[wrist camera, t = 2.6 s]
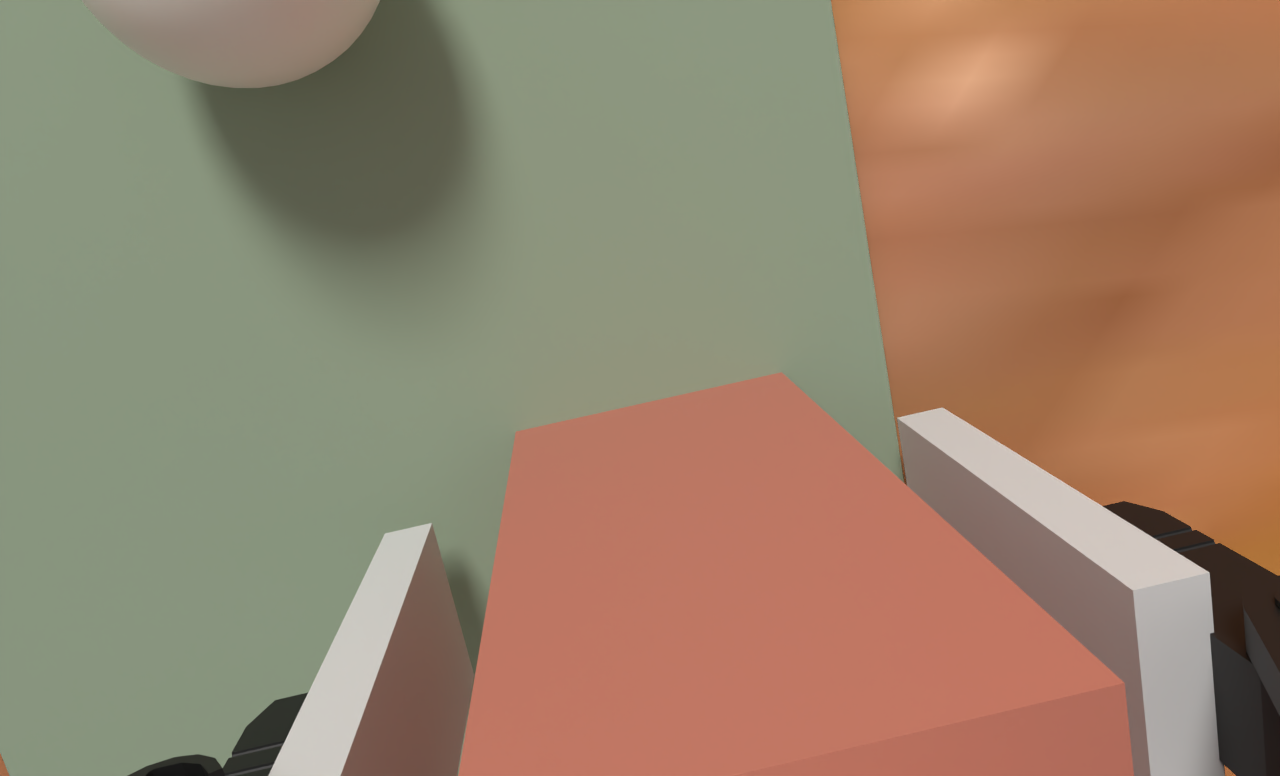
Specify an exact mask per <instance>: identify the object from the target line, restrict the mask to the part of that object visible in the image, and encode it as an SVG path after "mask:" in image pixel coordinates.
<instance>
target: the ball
mask: <svg viewBox="0 0 1280 776" xmlns="http://www.w3.org/2000/svg"><path fill="white" fill-rule="evenodd" d="M82 2H83V3H84V4H85V6H86V7H87V8H88V9H89V10H90V11H91V13H92V14H93V15H94V16H95V17H96V18H97V19H98V20H99V22H100V23H101V24H102V25H104V26H105V27H106V28H107V29H108V30H109V31H110V32H111V33H112V34H114V35H115V36H116V37H117V38H118V39H119V40H120V41H121V42H122V43H124V44H125V45H126V46H128V47H129V48H130V49H132V50H133V51H135V52H136V53H137V54H139V55H140V56H142V57H143V58H145V59H147V60H149V61H150V62H152V63H154V64H156V65H158V66H160V67H161V68H163V69H166V70H168V71H170V72H173V73H175V74H178V75H180V76H183V77H185V78H188V79H190V80H194V81H198V82H202V83H205V84H209V85H215V86H223V87H230V88H262V87H270V86H277V85H281V84H285V83H288V82H292V81H295V80H298V79H301V78H303V77H305V76H308V75H310V74H312V73H314V72H316V71H318V70H319V69H321V68H323V67H324V66H326V65H327V64H329V63H331V62H332V61H334V60H335V59H336V58H337V57H339V56H340V55H341V54H342V53H343V52H345V51H346V50H347V49H348V48H349V47H350V46H351V45H352V44H353V43H354V41H355V40H356V39H357V38H358V37H359V36H360V35H361V33H362V32H363V30H364V29H365V27H366V26H367V24H368V23H369V21H370V20H371V18H372V16H373V14H374V12H375V10H376V8H377V6H378V4H379V2H380V0H82Z"/></svg>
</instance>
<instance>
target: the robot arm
mask: <svg viewBox="0 0 1280 776" xmlns="http://www.w3.org/2000/svg"><path fill="white" fill-rule="evenodd" d="M897 421H898V428H899V435H900V441H901V448H902V454H903V461H904V468H905V474H906V481H907V486H908V487H909V488H910V489H911V490H912V491H913V492H914V493H916V494H917V495H918V496H919V497H920V498H921V499H922V500H923V501H924V502H926V503H927V504H928V505H929V506H930V507H931V508H932V509H933V510H934V511H935V512H937V513H938V514H939V515H940V516H941V517H942V518H943V519H944V520H945V521H946V522H948V523H949V524H950V525H951V526H952V527H953V528H954V529H955V530H956V531H958V532H959V533H960V534H961V535H962V536H963V537H964V538H965V539H966V540H967V541H969V542H970V543H971V544H972V545H973V546H974V547H975V548H976V549H977V550H978V551H980V552H981V553H982V554H983V555H984V556H985V557H986V558H987V559H988V560H990V561H991V562H992V563H993V564H994V565H995V566H996V567H997V568H998V569H999V570H1001V571H1002V572H1003V573H1004V574H1005V575H1006V576H1007V577H1008V578H1009V579H1011V580H1012V581H1013V582H1014V583H1015V584H1016V585H1017V586H1018V587H1019V588H1020V589H1022V590H1023V591H1024V592H1025V593H1026V594H1027V595H1028V596H1029V597H1030V598H1031V599H1033V600H1034V601H1035V602H1036V603H1037V604H1038V605H1039V606H1040V607H1041V608H1043V609H1044V610H1045V611H1046V612H1047V613H1048V614H1049V615H1050V616H1051V617H1052V618H1054V619H1055V620H1056V621H1057V622H1058V623H1059V624H1060V625H1061V626H1062V627H1064V628H1065V629H1066V630H1067V631H1068V632H1069V633H1070V634H1071V635H1072V636H1073V637H1075V638H1076V639H1077V640H1078V641H1079V642H1080V643H1081V644H1082V645H1083V646H1084V647H1086V648H1087V649H1088V650H1089V651H1090V652H1091V653H1092V654H1093V655H1094V656H1096V657H1097V658H1098V659H1099V660H1100V661H1101V662H1102V663H1103V664H1104V665H1105V666H1107V667H1108V668H1109V669H1110V670H1111V671H1112V672H1113V673H1114V674H1115V675H1116V676H1118V677H1119V678H1120V679H1121V680H1122V681H1123V682H1124V683H1125V691H1126V701H1127V711H1128V721H1129V731H1130V741H1131V751H1132V761H1133V771H1134V776H1225V770H1224V765H1225V766H1226V767H1228V768H1229V769H1230V770H1231V771H1232V772H1233V773H1234V774H1235V775H1236V776H1280V576H1277V575H1275V574H1273V573H1272V572H1270V571H1268V570H1266V569H1265V568H1263V567H1261V566H1259V565H1257V564H1256V563H1254V562H1252V561H1250V560H1249V559H1247V558H1245V557H1243V556H1241V555H1240V554H1238V553H1236V552H1234V551H1233V550H1231V549H1229V548H1227V547H1226V546H1224V545H1222V544H1220V543H1218V544H1215V543H1214V540H1213V539H1211V538H1210V537H1208V536H1206V535H1204V534H1202V533H1201V532H1199V531H1197V530H1194V531H1192V529H1191V527H1190V526H1188V525H1187V524H1185V523H1183V522H1181V521H1179V520H1178V519H1176V518H1174V517H1172V516H1171V515H1169V514H1167V513H1165V512H1163V511H1160V510H1156V509H1152V508H1148V507H1144V506H1141V505H1137V504H1133V503H1129V502H1125V501H1123V502H1119V503H1115V504H1110V505H1106V506H1101V505H1099V504H1098V503H1096V502H1095V501H1093V500H1091V499H1090V498H1088V497H1086V496H1085V495H1083V494H1082V493H1080V492H1078V491H1077V490H1075V489H1074V488H1072V487H1070V486H1069V485H1067V484H1065V483H1064V482H1062V481H1061V480H1059V479H1057V478H1056V477H1054V476H1053V475H1051V474H1049V473H1048V472H1046V471H1044V470H1043V469H1041V468H1040V467H1038V466H1036V465H1035V464H1033V463H1031V462H1030V461H1028V460H1027V459H1025V458H1023V457H1022V456H1020V455H1019V454H1017V453H1015V452H1014V451H1012V450H1010V449H1009V448H1007V447H1006V446H1004V445H1002V444H1001V443H999V442H997V441H996V440H994V439H993V438H991V437H989V436H988V435H986V434H985V433H983V432H981V431H980V430H978V429H976V428H975V427H973V426H972V425H970V424H968V423H967V422H965V421H963V420H962V419H960V418H959V417H957V416H955V415H954V414H952V413H951V412H949V411H947V410H946V409H944V408H938V409H934V410H929V411H925V412H921V413H916V414H912V415H907V416H903V417H898V418H897ZM473 679H474V673H473V669H472V666H471V662H470V658H469V655H468V651H467V647H466V644H465V640H464V637H463V633H462V629H461V626H460V622H459V618H458V615H457V611H456V608H455V604H454V600H453V597H452V593H451V590H450V586H449V582H448V579H447V575H446V571H445V568H444V564H443V561H442V557H441V553H440V550H439V546H438V542H437V539H436V535H435V532H434V528H433V524H432V523H429V524H425V525H420V526H416V527H411V528H407V529H403V530H398V531H394V532H389V533H385V534H384V536H383V538H382V541H381V543H380V545H379V547H378V549H377V551H376V553H375V555H374V557H373V559H372V561H371V563H370V565H369V568H368V570H367V572H366V574H365V576H364V578H363V580H362V582H361V584H360V586H359V588H358V590H357V592H356V595H355V597H354V599H353V601H352V603H351V605H350V607H349V609H348V611H347V613H346V615H345V617H344V619H343V622H342V624H341V626H340V628H339V630H338V632H337V634H336V636H335V638H334V640H333V642H332V644H331V646H330V649H329V651H328V653H327V655H326V657H325V659H324V661H323V663H322V665H321V667H320V669H319V671H318V673H317V676H316V678H315V680H314V682H313V684H312V686H311V688H310V690H309V692H308V693H304V694H299V695H295V696H291V697H286V698H282V699H278V700H275V701H274V702H272V703H271V704H270V705H269V706H268V707H267V708H266V709H265V710H264V711H263V712H262V713H260V714H259V715H258V716H257V717H256V718H255V719H254V720H253V721H252V722H251V723H249V724H248V725H247V726H246V728H245V730H244V731H243V733H242V735H241V737H240V738H239V740H238V742H237V744H236V746H235V747H234V749H233V751H232V757H231V758H228V760H227V762H226V763H225V765H224V767H223V768H222V767H221V765H220V764H219V763H218V761H217V760H216V758H214V757H209V756H205V755H200V754H195V755H187V756H179V757H173V758H170V759H167V760H164V761H161V762H158V763H155V764H152V765H148V766H146V767H144V768H142V769H140V770H138V771H136V772H134V773H132V774H130V775H128V776H457V774H458V768H459V762H460V756H461V750H462V744H463V738H464V733H465V727H466V721H467V715H468V709H469V703H470V697H471V691H472V685H473Z"/></svg>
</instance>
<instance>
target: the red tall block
mask: <svg viewBox="0 0 1280 776" xmlns="http://www.w3.org/2000/svg"><path fill="white" fill-rule="evenodd" d="M458 776H1134V771H1133V761H1132V751H1131V741H1130V731H1129V721H1128V711H1127V701H1126V691H1125V683H1124V682H1123V681H1122V680H1121V679H1120V678H1119V677H1118V676H1116V675H1115V674H1114V673H1113V672H1112V671H1111V670H1110V669H1109V668H1108V667H1107V666H1105V665H1104V664H1103V663H1102V662H1101V661H1100V660H1099V659H1098V658H1097V657H1096V656H1094V655H1093V654H1092V653H1091V652H1090V651H1089V650H1088V649H1087V648H1086V647H1084V646H1083V645H1082V644H1081V643H1080V642H1079V641H1078V640H1077V639H1076V638H1075V637H1073V636H1072V635H1071V634H1070V633H1069V632H1068V631H1067V630H1066V629H1065V628H1064V627H1062V626H1061V625H1060V624H1059V623H1058V622H1057V621H1056V620H1055V619H1054V618H1052V617H1051V616H1050V615H1049V614H1048V613H1047V612H1046V611H1045V610H1044V609H1043V608H1041V607H1040V606H1039V605H1038V604H1037V603H1036V602H1035V601H1034V600H1033V599H1031V598H1030V597H1029V596H1028V595H1027V594H1026V593H1025V592H1024V591H1023V590H1022V589H1020V588H1019V587H1018V586H1017V585H1016V584H1015V583H1014V582H1013V581H1012V580H1011V579H1009V578H1008V577H1007V576H1006V575H1005V574H1004V573H1003V572H1002V571H1001V570H999V569H998V568H997V567H996V566H995V565H994V564H993V563H992V562H991V561H990V560H988V559H987V558H986V557H985V556H984V555H983V554H982V553H981V552H980V551H978V550H977V549H976V548H975V547H974V546H973V545H972V544H971V543H970V542H969V541H967V540H966V539H965V538H964V537H963V536H962V535H961V534H960V533H959V532H958V531H956V530H955V529H954V528H953V527H952V526H951V525H950V524H949V523H948V522H946V521H945V520H944V519H943V518H942V517H941V516H940V515H939V514H938V513H937V512H935V511H934V510H933V509H932V508H931V507H930V506H929V505H928V504H927V503H926V502H924V501H923V500H922V499H921V498H920V497H919V496H918V495H917V494H916V493H914V492H913V491H912V490H911V489H910V488H909V487H908V486H907V485H906V484H905V483H903V482H902V481H901V480H900V479H899V478H898V477H897V476H896V475H895V474H893V473H892V472H891V471H890V470H889V469H888V468H887V467H886V466H885V465H884V464H882V463H881V462H880V461H879V460H878V459H877V458H876V457H875V456H874V455H873V454H871V453H870V452H869V451H868V450H867V449H866V448H865V447H864V446H863V445H861V444H860V443H859V442H858V441H857V440H856V439H855V438H854V437H853V436H852V435H850V434H849V433H848V432H847V431H846V430H845V429H844V428H843V427H842V426H840V425H839V424H838V423H837V422H836V421H835V420H834V419H833V418H832V417H831V416H829V415H828V414H827V413H826V412H825V411H824V410H823V409H822V408H821V407H820V406H818V405H817V404H816V403H815V402H814V401H813V400H812V399H811V398H810V397H808V396H807V395H806V394H805V393H804V392H803V391H802V390H801V389H800V388H799V387H797V386H796V385H795V384H794V383H793V382H792V381H791V380H790V379H789V378H788V377H786V376H785V375H784V374H783V373H782V372H781V373H776V374H772V375H767V376H763V377H758V378H754V379H749V380H745V381H740V382H736V383H731V384H727V385H722V386H718V387H713V388H709V389H704V390H700V391H695V392H691V393H686V394H682V395H678V396H673V397H669V398H664V399H660V400H655V401H651V402H646V403H642V404H637V405H633V406H628V407H624V408H619V409H615V410H610V411H606V412H601V413H597V414H592V415H588V416H584V417H579V418H575V419H570V420H566V421H561V422H557V423H552V424H548V425H543V426H539V427H534V428H530V429H525V430H521V431H516V433H515V439H514V445H513V451H512V457H511V463H510V469H509V475H508V481H507V487H506V493H505V499H504V505H503V511H502V517H501V523H500V529H499V535H498V541H497V547H496V553H495V559H494V565H493V571H492V577H491V583H490V589H489V595H488V601H487V607H486V613H485V619H484V625H483V631H482V637H481V643H480V649H479V655H478V661H477V667H476V673H475V679H474V685H473V691H472V696H471V702H470V708H469V714H468V720H467V726H466V732H465V738H464V744H463V750H462V756H461V762H460V768H459V774H458Z"/></svg>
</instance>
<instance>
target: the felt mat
mask: <svg viewBox="0 0 1280 776" xmlns="http://www.w3.org/2000/svg"><path fill="white" fill-rule="evenodd" d="M781 372H782V373H783V374H784V375H785V376H786V377H788V378H789V379H790V380H791V381H792V382H793V383H794V384H795V385H796V386H797V387H799V388H800V389H801V390H802V391H803V392H804V393H805V394H806V395H807V396H808V397H810V398H811V399H812V400H813V401H814V402H815V403H816V404H817V405H818V406H820V407H821V408H822V409H823V410H824V411H825V412H826V413H827V414H828V415H829V416H831V417H832V418H833V419H834V420H835V421H836V422H837V423H838V424H839V425H840V426H842V427H843V428H844V429H845V430H846V431H847V432H848V433H849V434H850V435H852V436H853V437H854V438H855V439H856V440H857V441H858V442H859V443H860V444H861V445H863V446H864V447H865V448H866V449H867V450H868V451H869V452H870V453H871V454H873V455H874V456H875V457H876V458H877V459H878V460H879V461H880V462H881V463H882V464H884V465H885V466H886V467H887V468H888V469H889V470H890V471H891V472H892V473H893V474H895V475H896V476H897V477H898V478H899V479H900V480H901V481H902V482H903V483H904V479H903V472H902V466H901V459H900V453H899V446H898V439H897V433H896V426H895V420H894V413H893V407H892V400H891V393H890V387H889V380H888V374H887V367H886V361H885V354H884V347H883V341H882V334H881V328H880V321H879V315H878V308H877V301H876V295H875V288H874V282H873V275H872V269H871V262H870V255H869V249H868V242H867V236H866V229H865V223H864V216H863V209H862V203H861V196H860V190H859V183H858V176H857V170H856V163H855V157H854V150H853V144H852V137H851V130H850V124H849V117H848V111H847V104H846V98H845V91H844V84H843V78H842V71H841V65H840V58H839V52H838V45H837V38H836V32H835V25H834V19H833V12H832V6H831V0H380V2H379V4H378V6H377V8H376V10H375V12H374V14H373V16H372V18H371V20H370V21H369V23H368V24H367V26H366V27H365V29H364V30H363V32H362V33H361V35H360V36H359V37H358V38H357V39H356V40H355V41H354V43H353V44H352V45H351V46H350V47H349V48H348V49H347V50H346V51H345V52H343V53H342V54H341V55H340V56H339V57H337V58H336V59H335V60H334V61H332V62H331V63H329V64H327V65H326V66H324V67H323V68H321V69H319V70H318V71H316V72H314V73H312V74H310V75H308V76H305V77H303V78H301V79H298V80H295V81H292V82H288V83H285V84H281V85H277V86H270V87H262V88H230V87H223V86H215V85H209V84H205V83H202V82H198V81H194V80H190V79H188V78H185V77H183V76H180V75H178V74H175V73H173V72H170V71H168V70H166V69H163V68H161V67H160V66H158V65H156V64H154V63H152V62H150V61H149V60H147V59H145V58H143V57H142V56H140V55H139V54H137V53H136V52H135V51H133V50H132V49H130V48H129V47H128V46H126V45H125V44H124V43H122V42H121V41H120V40H119V39H118V38H117V37H116V36H115V35H114V34H112V33H111V32H110V31H109V30H108V29H107V28H106V27H105V26H104V25H102V24H101V23H100V22H99V20H98V19H97V18H96V17H95V16H94V15H93V14H92V13H91V11H90V10H89V9H88V8H87V7H86V6H85V4H84V3H83V2H82V0H0V753H1V756H2V758H3V761H4V763H5V766H6V768H7V770H8V773H9V775H10V776H128V775H130V774H132V773H134V772H136V771H138V770H140V769H142V768H144V767H146V766H148V765H152V764H155V763H158V762H161V761H164V760H167V759H170V758H173V757H179V756H187V755H195V754H200V755H205V756H209V757H214V758H216V760H217V761H218V763H219V764H220V765H221V767H222V768H223V767H224V765H225V763H226V762H227V760H228V758H231V757H232V751H233V749H234V747H235V746H236V744H237V742H238V740H239V738H240V737H241V735H242V733H243V731H244V730H245V728H246V726H247V725H248V724H249V723H251V722H252V721H253V720H254V719H255V718H256V717H257V716H258V715H259V714H260V713H262V712H263V711H264V710H265V709H266V708H267V707H268V706H269V705H270V704H271V703H272V702H274V701H275V700H278V699H282V698H286V697H291V696H295V695H299V694H304V693H308V692H309V690H310V688H311V686H312V684H313V682H314V680H315V678H316V676H317V673H318V671H319V669H320V667H321V665H322V663H323V661H324V659H325V657H326V655H327V653H328V651H329V649H330V646H331V644H332V642H333V640H334V638H335V636H336V634H337V632H338V630H339V628H340V626H341V624H342V622H343V619H344V617H345V615H346V613H347V611H348V609H349V607H350V605H351V603H352V601H353V599H354V597H355V595H356V592H357V590H358V588H359V586H360V584H361V582H362V580H363V578H364V576H365V574H366V572H367V570H368V568H369V565H370V563H371V561H372V559H373V557H374V555H375V553H376V551H377V549H378V547H379V545H380V543H381V541H382V538H383V536H384V534H385V533H389V532H394V531H398V530H403V529H407V528H411V527H416V526H420V525H425V524H429V523H432V524H433V528H434V532H435V535H436V539H437V542H438V546H439V550H440V553H441V557H442V561H443V564H444V568H445V571H446V575H447V579H448V582H449V586H450V590H451V593H452V597H453V600H454V604H455V608H456V611H457V615H458V618H459V622H460V626H461V629H462V633H463V637H464V640H465V644H466V647H467V651H468V655H469V658H470V662H471V666H472V669H473V673H474V679H475V673H476V667H477V661H478V655H479V649H480V643H481V637H482V631H483V625H484V619H485V613H486V607H487V601H488V595H489V589H490V583H491V577H492V571H493V565H494V559H495V553H496V547H497V541H498V535H499V529H500V523H501V517H502V511H503V505H504V499H505V493H506V487H507V481H508V475H509V469H510V463H511V457H512V451H513V445H514V439H515V433H516V431H521V430H525V429H530V428H534V427H539V426H543V425H548V424H552V423H557V422H561V421H566V420H570V419H575V418H579V417H584V416H588V415H592V414H597V413H601V412H606V411H610V410H615V409H619V408H624V407H628V406H633V405H637V404H642V403H646V402H651V401H655V400H660V399H664V398H669V397H673V396H678V395H682V394H686V393H691V392H695V391H700V390H704V389H709V388H713V387H718V386H722V385H727V384H731V383H736V382H740V381H745V380H749V379H754V378H758V377H763V376H767V375H772V374H776V373H781ZM474 679H473V685H474ZM473 685H472V691H473ZM472 691H471V696H472ZM470 702H471V697H470ZM469 708H470V703H469ZM468 714H469V709H468ZM467 720H468V715H467ZM466 726H467V721H466ZM465 732H466V727H465ZM464 738H465V733H464ZM464 738H463V744H464ZM463 744H462V750H463ZM462 750H461V756H462ZM461 756H460V762H461ZM460 762H459V768H460ZM459 768H458V774H459ZM458 774H457V776H458Z"/></svg>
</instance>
